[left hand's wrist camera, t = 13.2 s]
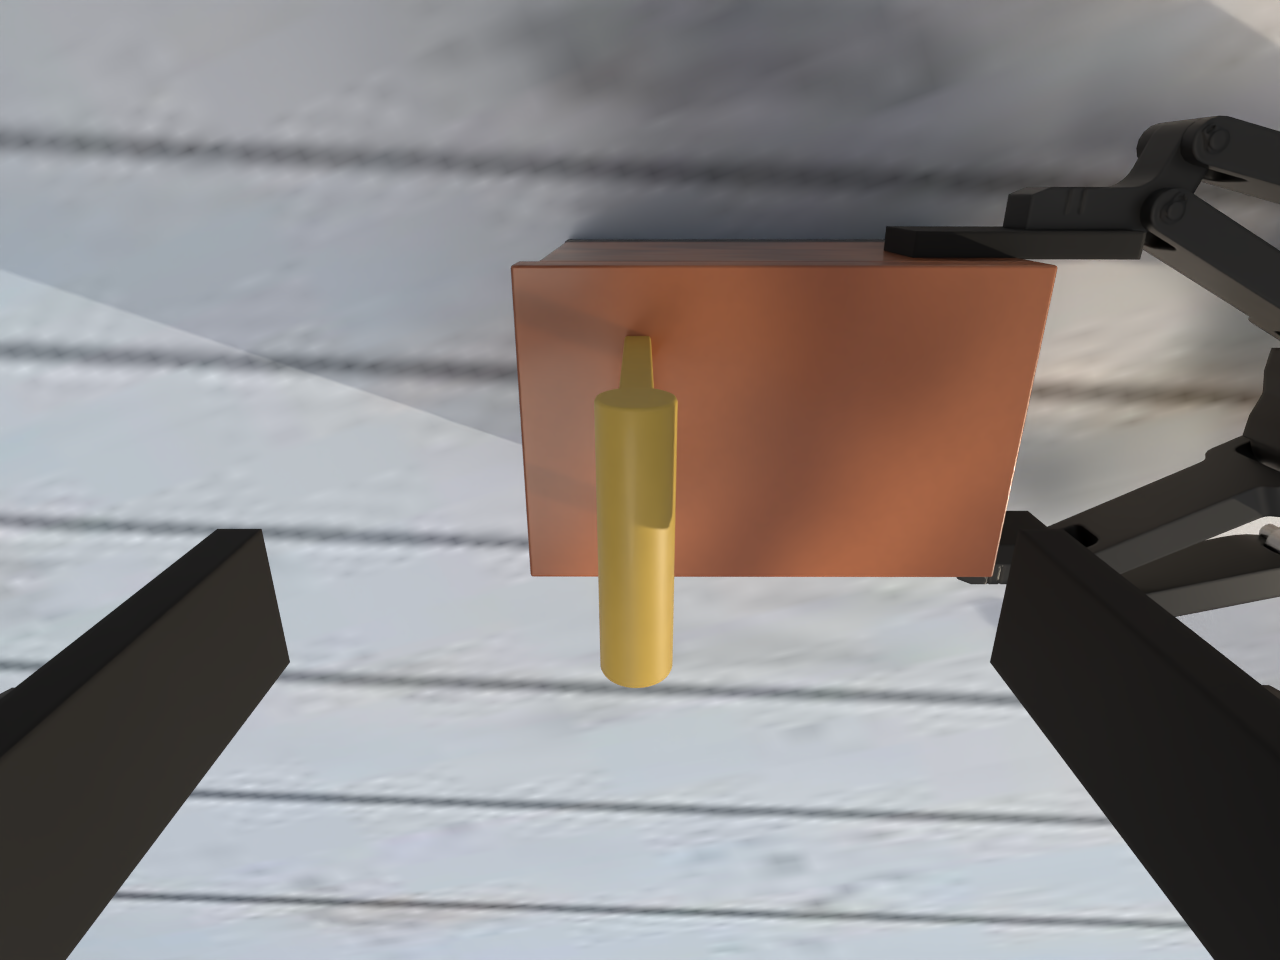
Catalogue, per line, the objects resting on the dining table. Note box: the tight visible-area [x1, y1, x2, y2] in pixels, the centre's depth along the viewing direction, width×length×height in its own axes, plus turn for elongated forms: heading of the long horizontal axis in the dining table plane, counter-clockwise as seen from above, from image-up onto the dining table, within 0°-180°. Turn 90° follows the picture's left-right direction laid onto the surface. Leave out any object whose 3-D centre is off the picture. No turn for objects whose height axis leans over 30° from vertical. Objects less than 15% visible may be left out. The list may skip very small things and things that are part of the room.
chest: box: [541, 240, 1034, 262], centre depth 25 cm, size 14×9×9 cm
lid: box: [511, 261, 1057, 688], centre depth 17 cm, size 14×9×8 cm, turn 90°
